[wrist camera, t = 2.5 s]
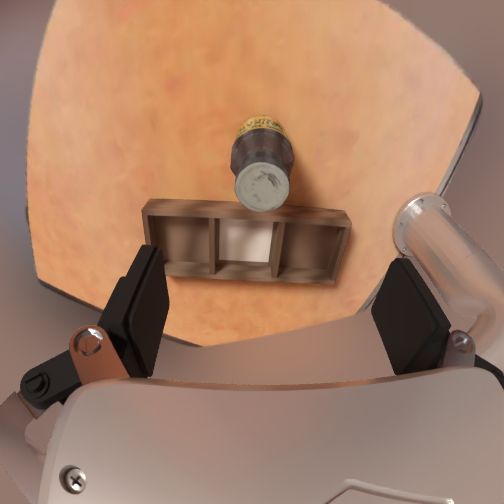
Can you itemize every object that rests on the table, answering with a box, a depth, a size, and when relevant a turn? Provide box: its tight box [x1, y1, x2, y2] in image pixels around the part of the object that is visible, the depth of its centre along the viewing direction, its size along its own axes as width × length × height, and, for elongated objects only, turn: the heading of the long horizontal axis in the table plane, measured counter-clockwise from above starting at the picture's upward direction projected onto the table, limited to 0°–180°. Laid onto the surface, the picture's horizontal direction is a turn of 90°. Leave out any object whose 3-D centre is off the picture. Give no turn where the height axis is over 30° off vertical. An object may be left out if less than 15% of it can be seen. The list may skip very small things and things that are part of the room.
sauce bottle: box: [230, 115, 294, 212], centre depth 28 cm, size 7×6×20 cm
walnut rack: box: [142, 199, 352, 284], centre depth 44 cm, size 30×12×4 cm, turn 86°
